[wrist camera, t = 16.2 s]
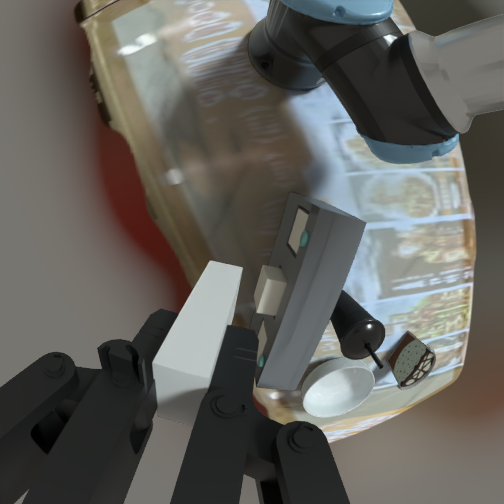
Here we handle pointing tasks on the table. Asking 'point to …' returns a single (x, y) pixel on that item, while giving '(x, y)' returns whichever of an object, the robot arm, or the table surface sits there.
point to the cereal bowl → (336, 387)
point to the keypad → (305, 288)
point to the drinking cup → (356, 330)
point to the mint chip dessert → (411, 361)
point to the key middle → (269, 290)
